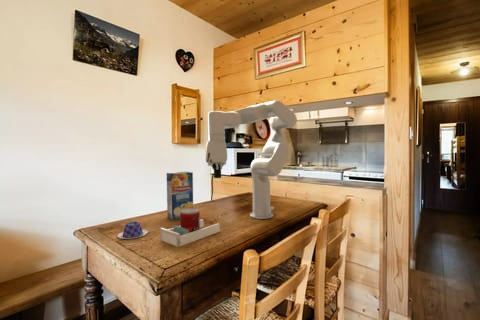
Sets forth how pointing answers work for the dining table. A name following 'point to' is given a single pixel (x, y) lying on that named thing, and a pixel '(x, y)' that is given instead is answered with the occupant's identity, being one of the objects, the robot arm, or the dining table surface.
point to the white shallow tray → (188, 234)
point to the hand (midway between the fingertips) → (217, 177)
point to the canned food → (190, 219)
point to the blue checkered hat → (132, 231)
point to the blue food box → (179, 193)
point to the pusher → (180, 230)
